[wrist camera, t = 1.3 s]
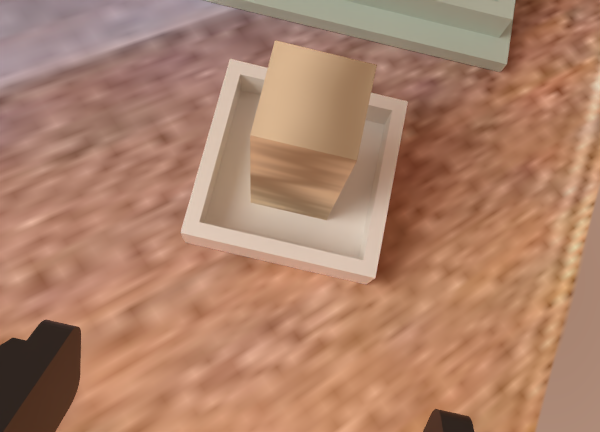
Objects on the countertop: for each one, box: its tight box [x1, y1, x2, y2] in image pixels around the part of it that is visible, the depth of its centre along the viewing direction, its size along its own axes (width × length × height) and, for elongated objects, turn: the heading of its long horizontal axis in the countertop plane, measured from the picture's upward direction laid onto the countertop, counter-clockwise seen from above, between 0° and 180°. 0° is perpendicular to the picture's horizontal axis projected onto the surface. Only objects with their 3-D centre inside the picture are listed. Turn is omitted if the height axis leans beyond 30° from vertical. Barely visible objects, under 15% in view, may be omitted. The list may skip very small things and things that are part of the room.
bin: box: [181, 59, 408, 284], centre depth 33 cm, size 11×11×2 cm
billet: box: [250, 40, 377, 220], centre depth 29 cm, size 4×5×10 cm
